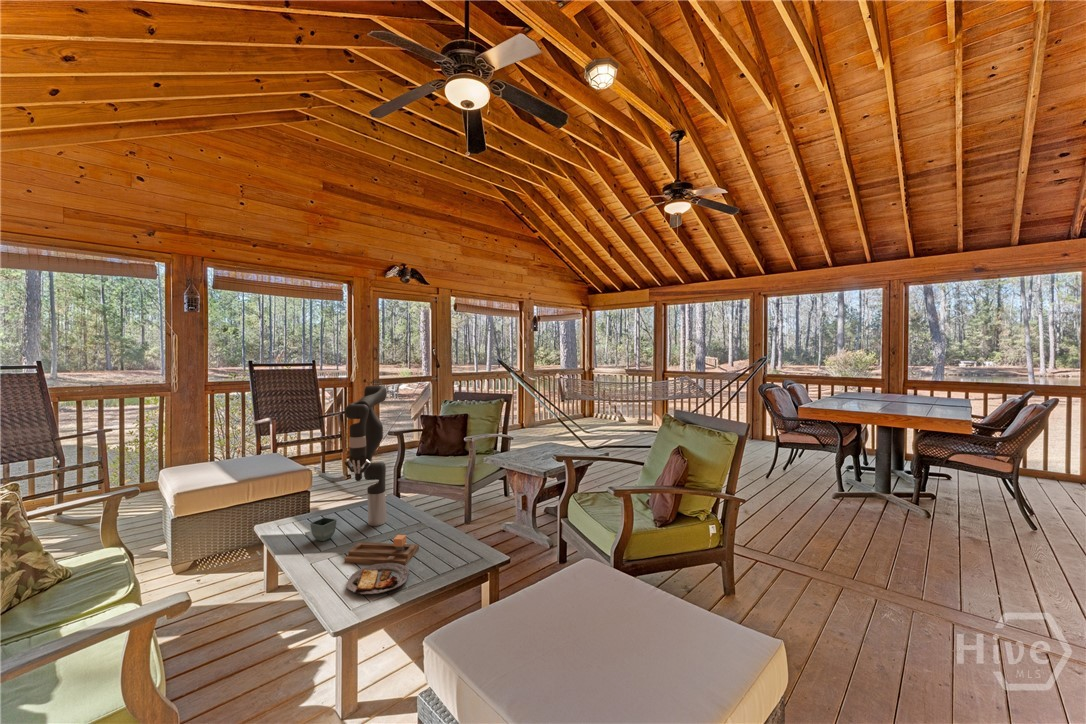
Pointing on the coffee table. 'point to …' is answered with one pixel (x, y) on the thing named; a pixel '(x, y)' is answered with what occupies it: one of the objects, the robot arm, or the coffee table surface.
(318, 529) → the flower pot
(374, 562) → the console
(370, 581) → the food plate
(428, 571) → the coffee table surface
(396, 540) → the fader
